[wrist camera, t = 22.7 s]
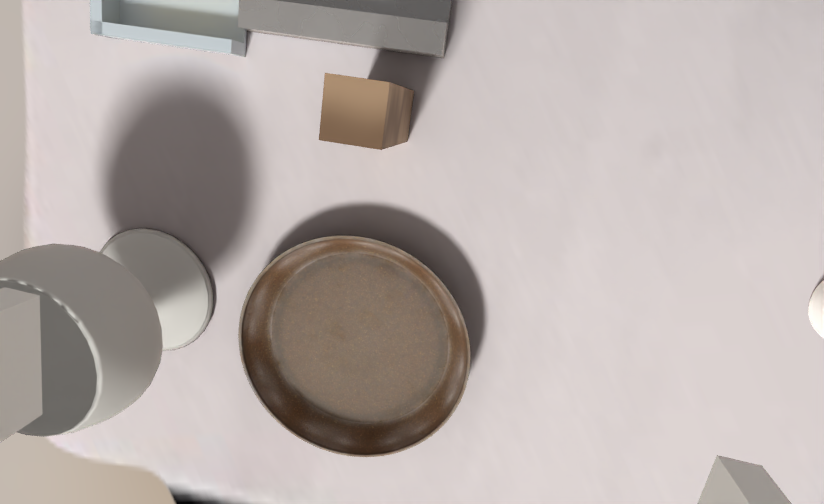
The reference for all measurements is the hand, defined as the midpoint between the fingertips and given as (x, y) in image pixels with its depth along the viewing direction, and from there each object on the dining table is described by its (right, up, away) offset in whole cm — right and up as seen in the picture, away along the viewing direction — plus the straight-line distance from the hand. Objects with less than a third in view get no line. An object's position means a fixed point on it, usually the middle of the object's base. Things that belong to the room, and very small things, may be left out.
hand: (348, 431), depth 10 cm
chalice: (-23, 0, +40) cm, 46 cm away
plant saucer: (-4, -4, +38) cm, 39 cm away
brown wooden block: (-1, +15, +32) cm, 35 cm away
